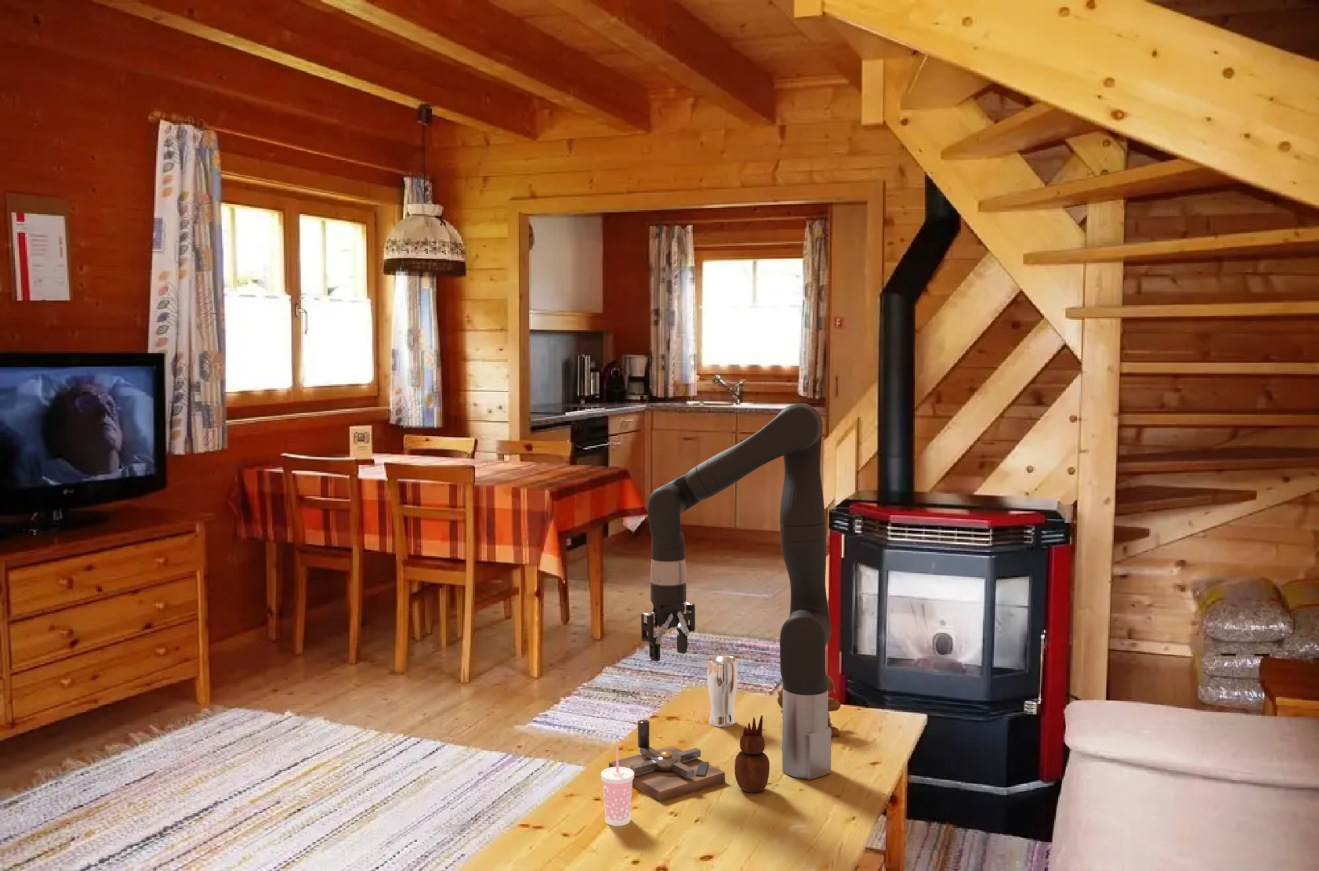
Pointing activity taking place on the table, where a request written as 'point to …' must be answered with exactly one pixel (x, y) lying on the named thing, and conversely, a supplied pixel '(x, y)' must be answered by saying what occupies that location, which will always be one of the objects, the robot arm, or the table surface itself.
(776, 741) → the table surface
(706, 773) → the stand
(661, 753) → the capstan
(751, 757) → the wooden figurine
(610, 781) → the beverage cup
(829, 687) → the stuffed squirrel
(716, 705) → the beer glass
